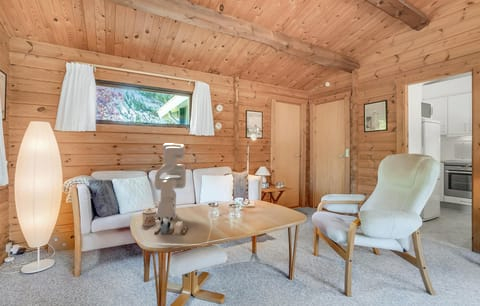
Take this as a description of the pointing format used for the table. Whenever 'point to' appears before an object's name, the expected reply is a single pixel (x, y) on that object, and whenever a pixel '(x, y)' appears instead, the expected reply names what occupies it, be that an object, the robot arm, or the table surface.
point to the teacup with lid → (149, 217)
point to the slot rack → (171, 231)
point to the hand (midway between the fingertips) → (165, 227)
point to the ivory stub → (178, 227)
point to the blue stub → (164, 227)
